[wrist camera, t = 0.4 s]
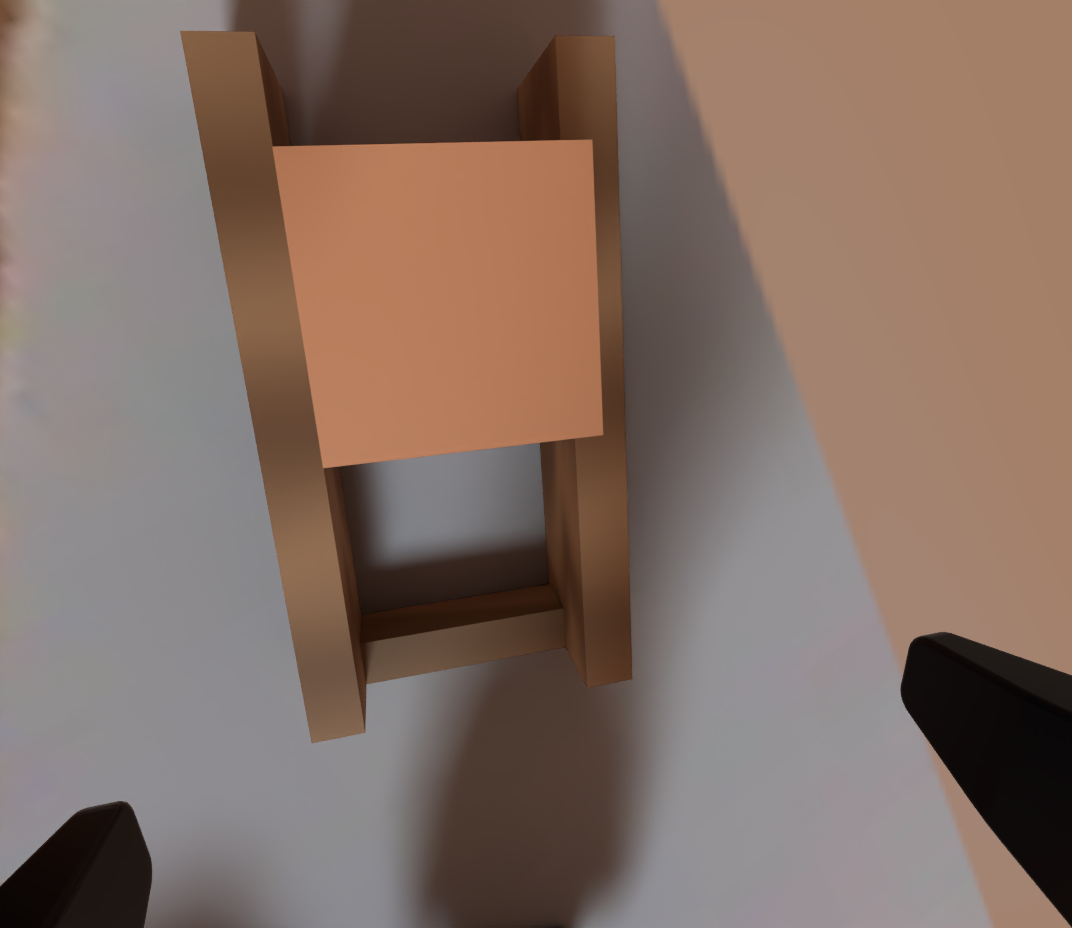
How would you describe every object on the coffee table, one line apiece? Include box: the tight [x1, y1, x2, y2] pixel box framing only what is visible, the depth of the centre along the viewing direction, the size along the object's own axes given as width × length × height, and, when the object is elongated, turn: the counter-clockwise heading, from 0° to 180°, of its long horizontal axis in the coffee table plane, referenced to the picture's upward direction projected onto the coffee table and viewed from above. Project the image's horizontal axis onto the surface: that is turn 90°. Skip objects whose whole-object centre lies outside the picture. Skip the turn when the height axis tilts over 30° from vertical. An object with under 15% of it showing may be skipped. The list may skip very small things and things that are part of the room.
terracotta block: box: [272, 140, 603, 468], centre depth 17 cm, size 6×6×8 cm
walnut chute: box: [180, 31, 632, 743], centre depth 20 cm, size 18×10×4 cm, turn 4°
